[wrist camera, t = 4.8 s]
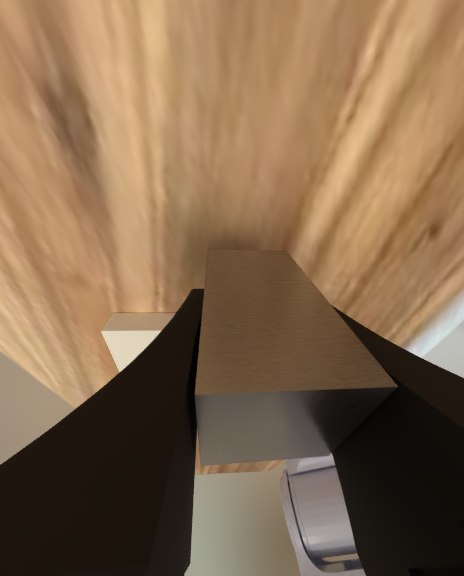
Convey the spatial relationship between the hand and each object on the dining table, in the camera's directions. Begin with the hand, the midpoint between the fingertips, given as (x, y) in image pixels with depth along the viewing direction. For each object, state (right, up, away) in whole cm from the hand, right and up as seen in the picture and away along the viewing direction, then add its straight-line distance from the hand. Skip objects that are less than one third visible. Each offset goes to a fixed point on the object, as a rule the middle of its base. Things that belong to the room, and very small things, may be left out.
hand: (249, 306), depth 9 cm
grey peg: (0, +1, +2) cm, 2 cm away
